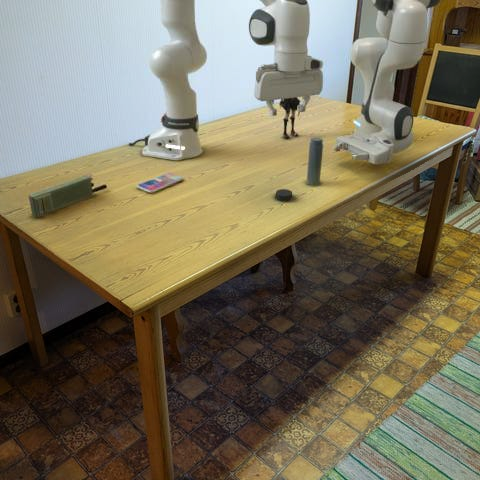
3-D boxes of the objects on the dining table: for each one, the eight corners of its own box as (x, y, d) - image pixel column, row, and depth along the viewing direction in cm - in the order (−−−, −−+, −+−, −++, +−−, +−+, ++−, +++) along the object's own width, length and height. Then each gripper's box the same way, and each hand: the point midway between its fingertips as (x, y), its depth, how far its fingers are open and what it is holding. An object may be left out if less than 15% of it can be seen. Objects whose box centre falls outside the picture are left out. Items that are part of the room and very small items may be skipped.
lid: (272, 198, 156) (272, 192, 155) (282, 193, 159) (282, 187, 158) (285, 203, 153) (285, 197, 152) (295, 198, 156) (295, 192, 155)
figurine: (282, 141, 203) (286, 63, 188) (271, 138, 207) (274, 61, 192) (306, 134, 212) (311, 59, 197) (295, 130, 215) (300, 57, 201)
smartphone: (184, 177, 167) (150, 191, 157) (184, 180, 167) (151, 194, 157) (168, 171, 171) (134, 185, 161) (168, 174, 171) (135, 188, 161)
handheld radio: (30, 215, 144) (102, 188, 161) (37, 219, 142) (109, 191, 159) (26, 193, 140) (100, 168, 157) (33, 197, 138) (107, 171, 155)
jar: (315, 179, 169) (319, 136, 162) (321, 184, 166) (326, 140, 158) (304, 181, 168) (307, 137, 161) (310, 186, 164) (314, 141, 157)
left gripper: (262, 67, 130) (260, 120, 136) (328, 61, 138) (323, 112, 144) (250, 63, 134) (249, 114, 141) (315, 57, 143) (311, 106, 149)
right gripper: (354, 128, 182) (325, 135, 175) (397, 145, 167) (366, 153, 160) (352, 145, 185) (323, 152, 179) (394, 163, 170) (364, 172, 164)
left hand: (287, 113), depth 143 cm, fingers open, 8 cm apart
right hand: (344, 153), depth 169 cm, fingers open, 8 cm apart
